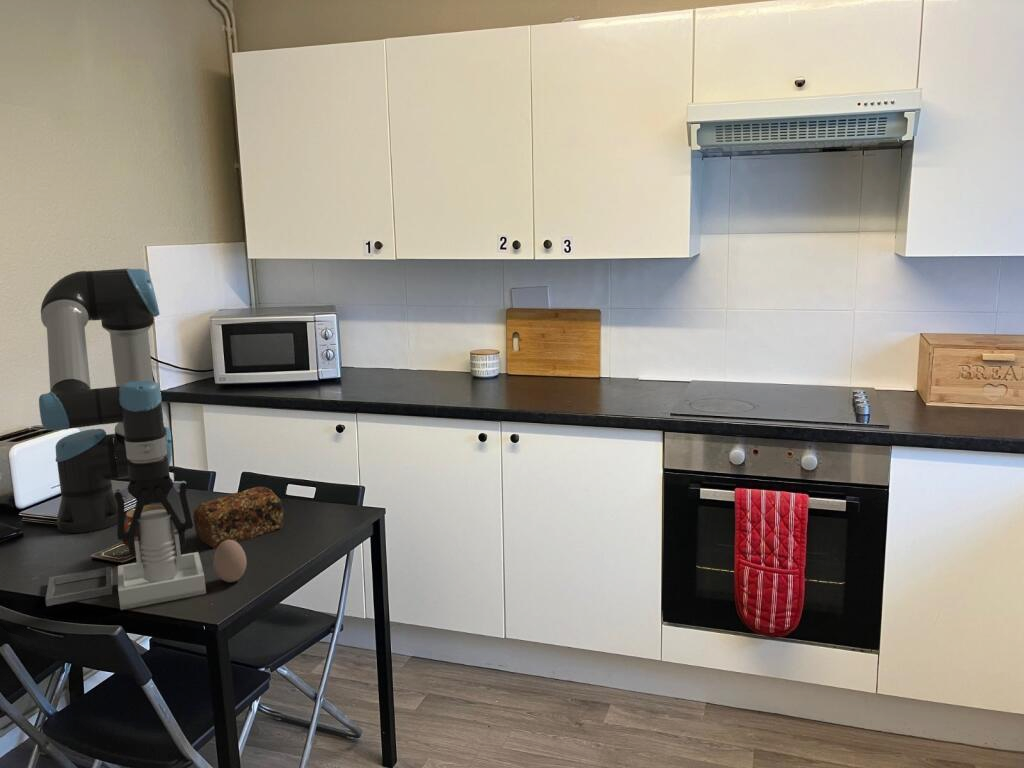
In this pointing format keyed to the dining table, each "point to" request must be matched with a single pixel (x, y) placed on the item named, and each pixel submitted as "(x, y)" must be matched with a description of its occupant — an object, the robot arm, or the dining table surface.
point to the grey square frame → (81, 594)
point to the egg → (229, 561)
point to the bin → (160, 584)
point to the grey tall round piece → (157, 546)
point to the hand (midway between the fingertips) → (159, 565)
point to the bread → (238, 516)
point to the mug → (129, 517)
